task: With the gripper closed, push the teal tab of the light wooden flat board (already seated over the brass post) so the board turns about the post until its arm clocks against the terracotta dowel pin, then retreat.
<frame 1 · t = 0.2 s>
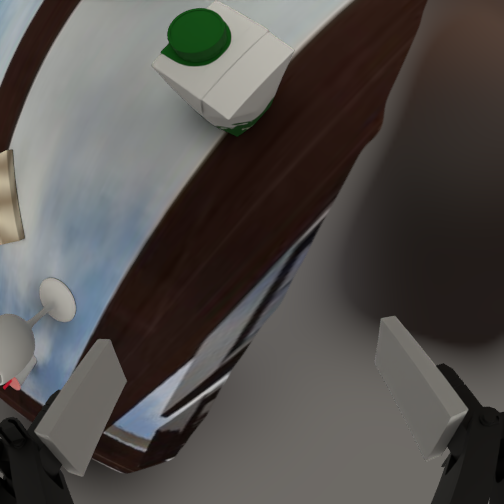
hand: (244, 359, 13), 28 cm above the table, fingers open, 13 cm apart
cup: (31, 356, 48), on the table
milk carton: (234, 102, 35), on the table
wineglass: (57, 299, 43), on the table
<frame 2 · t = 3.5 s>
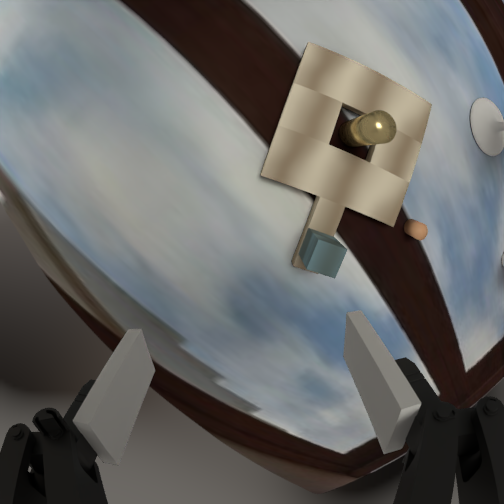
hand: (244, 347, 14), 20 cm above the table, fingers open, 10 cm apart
light wooden flat board: (350, 166, 27), point 3 cm above the table, hinge at 0.0°
post: (351, 133, 29), on the table
wineglass: (487, 126, 28), on the table
dowel: (410, 226, 32), on the table
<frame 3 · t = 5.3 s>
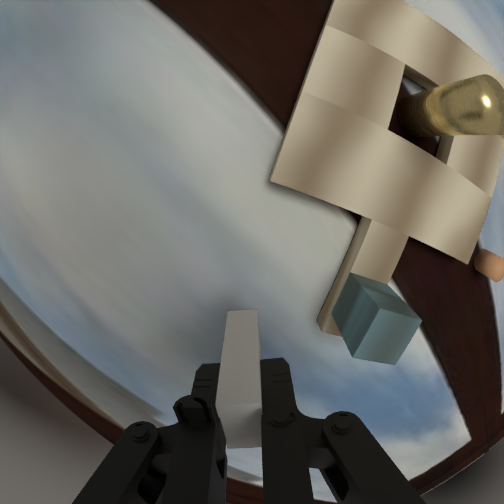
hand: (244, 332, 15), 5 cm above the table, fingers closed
light wooden flat board: (426, 170, 14), point 3 cm above the table, hinge at 0.0°
post: (415, 116, 16), on the table
dowel: (481, 259, 19), on the table
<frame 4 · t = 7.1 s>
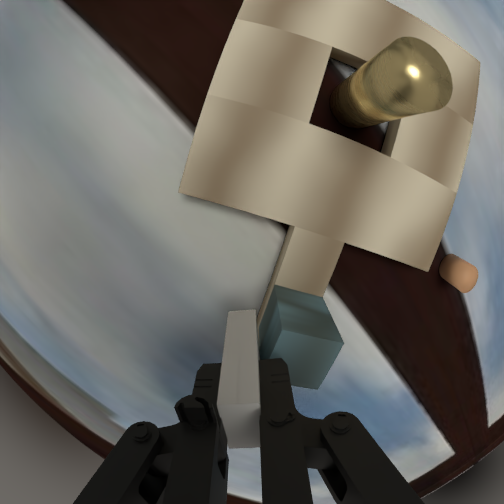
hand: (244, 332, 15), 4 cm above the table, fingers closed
light wooden flat board: (353, 166, 13), point 3 cm above the table, hinge at 1.1°, touching gripper
post: (353, 105, 15), on the table
dowel: (449, 266, 18), on the table
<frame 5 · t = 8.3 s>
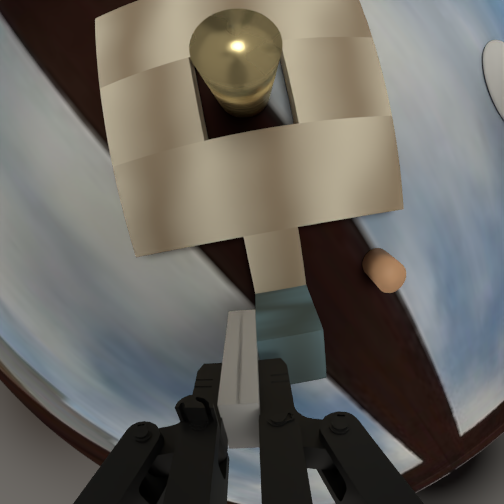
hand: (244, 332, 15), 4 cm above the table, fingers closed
light wooden flat board: (257, 158, 13), point 3 cm above the table, hinge at 28.7°, touching gripper
post: (243, 93, 15), on the table
dowel: (376, 262, 18), on the table
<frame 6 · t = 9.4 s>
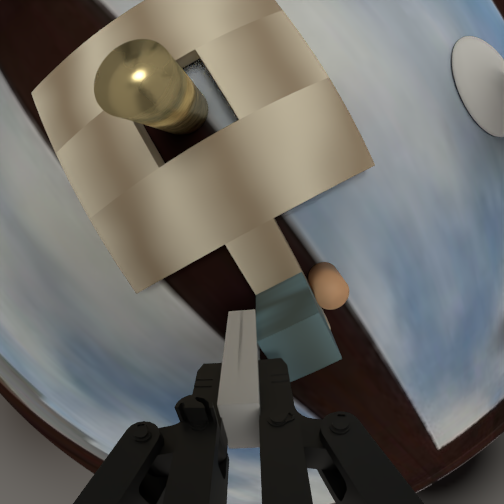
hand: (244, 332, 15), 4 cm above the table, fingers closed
light wooden flat board: (206, 167, 13), point 3 cm above the table, hinge at 47.4°, touching dowel, gripper
post: (183, 111, 15), on the table
wineglass: (487, 85, 14), on the table
dowel: (322, 276, 19), on the table
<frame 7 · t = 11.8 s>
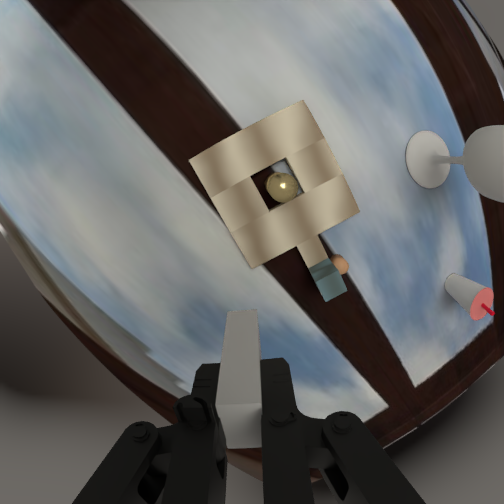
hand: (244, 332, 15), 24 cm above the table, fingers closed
cup: (451, 282, 41), on the table
light wooden flat board: (294, 214, 35), point 3 cm above the table, hinge at 47.3°, touching dowel
post: (276, 183, 37), on the table
wineglass: (427, 159, 36), on the table
dowel: (336, 261, 40), on the table
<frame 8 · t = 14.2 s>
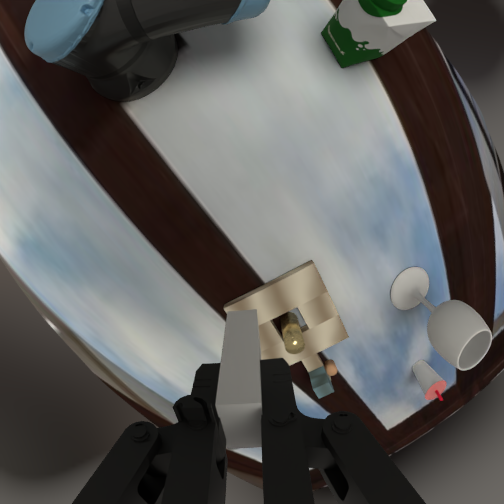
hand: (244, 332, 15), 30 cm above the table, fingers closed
cup: (418, 365, 54), on the table
light wooden flat board: (301, 346, 47), point 3 cm above the table, hinge at 47.3°, touching dowel
milk carton: (349, 45, 36), on the table
post: (288, 319, 49), on the table
wineglass: (409, 288, 48), on the table
dowel: (329, 363, 52), on the table
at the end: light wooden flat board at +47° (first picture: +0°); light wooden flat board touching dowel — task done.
